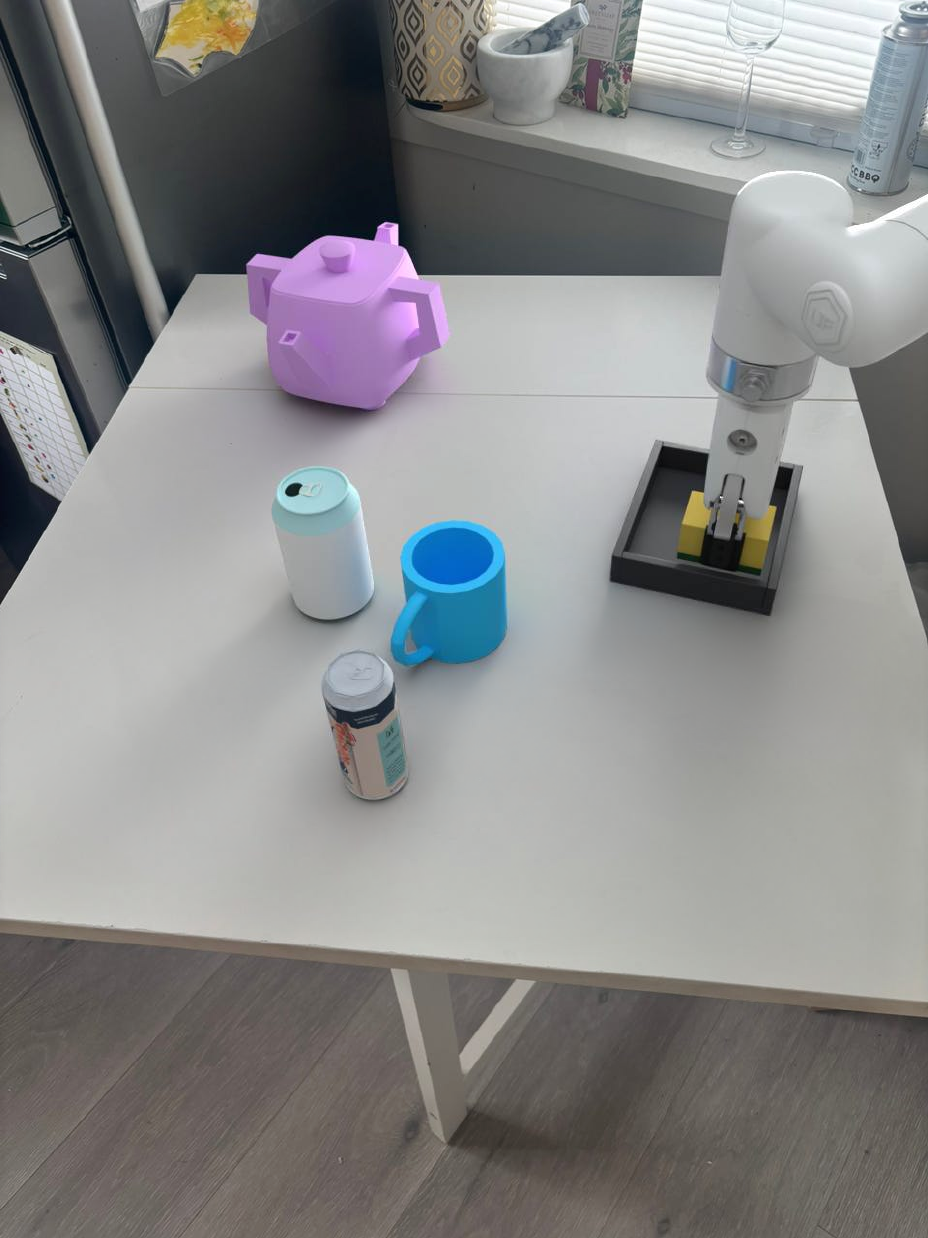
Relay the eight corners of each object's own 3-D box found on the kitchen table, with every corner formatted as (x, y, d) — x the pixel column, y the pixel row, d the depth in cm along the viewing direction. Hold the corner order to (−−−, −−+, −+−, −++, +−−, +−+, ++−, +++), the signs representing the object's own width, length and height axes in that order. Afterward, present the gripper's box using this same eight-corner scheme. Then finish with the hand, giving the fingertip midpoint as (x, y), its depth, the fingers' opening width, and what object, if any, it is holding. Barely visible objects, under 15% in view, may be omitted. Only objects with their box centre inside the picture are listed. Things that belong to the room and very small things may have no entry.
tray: (797, 491, 92) (803, 465, 90) (769, 616, 82) (776, 590, 80) (652, 464, 96) (655, 439, 94) (609, 581, 86) (611, 555, 83)
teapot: (302, 449, 100) (275, 314, 89) (247, 362, 112) (217, 233, 101) (472, 394, 106) (465, 260, 95) (403, 316, 117) (390, 188, 106)
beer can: (348, 749, 75) (323, 644, 66) (411, 748, 75) (395, 644, 66) (341, 803, 72) (314, 701, 63) (406, 803, 72) (389, 701, 63)
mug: (448, 578, 87) (442, 507, 81) (526, 615, 83) (525, 544, 77) (360, 665, 81) (346, 595, 75) (439, 710, 77) (432, 641, 71)
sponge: (768, 541, 85) (776, 506, 82) (760, 576, 82) (768, 541, 79) (686, 525, 87) (692, 490, 84) (676, 558, 84) (681, 523, 81)
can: (309, 635, 83) (283, 529, 74) (283, 583, 88) (255, 476, 79) (387, 607, 85) (370, 499, 76) (357, 556, 89) (338, 450, 80)
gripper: (800, 438, 64) (753, 626, 78) (829, 306, 75) (783, 492, 88) (685, 418, 66) (658, 605, 80) (729, 292, 77) (699, 476, 90)
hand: (724, 543), depth 84 cm, fingers closed on sponge, 4 cm apart
